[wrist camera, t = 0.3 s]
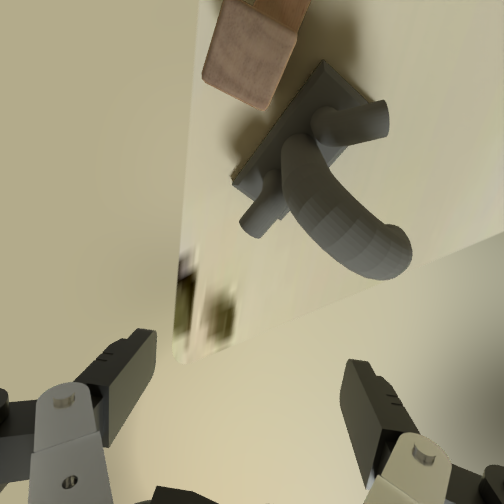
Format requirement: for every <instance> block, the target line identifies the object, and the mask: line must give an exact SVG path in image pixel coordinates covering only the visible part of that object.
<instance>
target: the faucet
mask: <svg viewBox="0 0 504 504" xmlns="http://www.w3.org/2000/svg"><path fill="white" fill-rule="evenodd" d="M388 132H389V112H388V107H387V104H386V102H385V100H380V101H376V102H372V103H368V102H367V101H366V100H365V99H364V98H363V97H362V96H361V95H360V94H359V93H358V92H357V91H356V90H355V89H354V88H352V87H351V86H350V85H349V84H348V83H347V82H346V81H345V80H344V79H343V78H342V77H341V76H340V75H339V74H338V73H337V72H336V71H335V70H334V69H333V68H332V67H331V66H330V65H329V64H328V63H327V62H325V61H324V60H322V61H321V62H320V64H319V65H318V67H317V68H316V69H315V71H314V72H313V73H312V75H311V76H310V77H309V79H308V80H307V82H306V83H305V84H304V86H303V87H302V88H301V90H300V91H299V92H298V94H297V95H296V97H295V98H294V99H293V101H292V102H291V103H290V105H289V106H288V107H287V109H286V110H285V112H284V113H283V114H282V116H281V117H280V118H279V120H278V121H277V122H276V124H275V125H274V127H273V128H272V129H271V131H270V132H269V133H268V135H267V136H266V137H265V139H264V140H263V142H262V143H261V144H260V146H259V147H258V148H257V150H256V151H255V152H254V154H253V155H252V157H251V158H250V159H249V161H248V162H247V163H246V165H245V166H244V167H243V169H242V170H241V172H240V173H239V174H238V176H237V177H236V178H235V180H234V181H233V183H232V185H233V186H234V187H235V188H237V189H238V190H239V191H241V192H242V193H244V194H245V195H246V196H248V197H249V198H250V199H252V200H253V201H254V203H253V204H252V205H251V206H250V208H249V209H248V210H247V211H246V213H245V214H244V215H243V216H242V218H241V219H240V220H239V223H240V225H241V227H242V228H243V230H244V231H245V232H246V233H248V234H249V235H250V236H252V237H254V238H261V237H262V236H263V235H264V233H265V232H266V231H267V230H268V229H269V228H270V227H271V226H272V224H273V223H274V222H275V221H276V220H277V219H279V220H282V219H283V218H284V216H285V215H286V214H287V213H288V212H289V211H291V213H292V214H293V216H294V217H295V219H296V220H297V222H298V223H299V224H300V225H301V226H302V228H303V229H304V230H305V231H306V232H307V234H308V235H309V236H310V237H311V238H312V239H313V240H314V241H315V242H316V243H317V244H318V245H319V246H320V247H321V248H322V249H323V250H324V251H326V252H327V253H328V254H329V255H330V256H331V257H333V258H334V259H335V260H336V261H337V262H339V263H340V264H342V265H343V266H345V267H346V268H348V269H349V270H351V271H353V272H355V273H357V274H359V275H361V276H363V277H365V278H369V279H375V280H390V279H392V278H395V277H397V276H398V275H400V274H401V273H402V272H404V271H405V270H406V269H407V267H408V266H409V265H410V262H411V260H412V247H411V244H410V241H409V239H408V237H407V235H406V234H405V232H404V231H403V230H402V229H401V228H399V227H398V226H395V225H391V224H384V223H382V222H381V221H380V220H379V219H377V218H376V217H375V216H374V215H373V214H372V213H370V212H369V211H368V210H367V209H366V208H365V207H364V206H362V205H361V204H360V203H359V202H358V201H357V200H356V199H355V198H354V197H353V196H352V195H351V194H350V193H349V192H348V191H347V190H346V189H345V188H344V187H343V186H342V185H341V184H340V182H339V181H338V180H337V179H336V178H335V177H334V175H333V174H332V173H331V171H330V169H329V167H330V166H331V165H332V163H333V162H334V161H335V160H336V159H337V158H338V157H339V156H340V155H341V153H342V152H343V151H344V150H345V149H346V148H347V147H348V146H349V145H354V144H358V143H362V142H366V141H371V140H375V139H379V138H383V137H387V135H388Z"/></svg>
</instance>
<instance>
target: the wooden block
mask: <svg viewBox="0 0 504 504" xmlns="http://www.w3.org/2000/svg"><path fill="white" fill-rule="evenodd" d="M310 2H311V0H255V2H254V4H253V6H251V5H250V4H248V3H246V2H244V1H243V0H223V3H222V6H221V10H220V13H219V17H218V20H217V23H216V27H215V30H214V33H213V37H212V40H211V43H210V47H209V50H208V53H207V57H206V60H205V63H204V67H203V70H202V79H203V80H204V82H205V83H207V84H209V85H211V86H213V87H215V88H217V89H219V90H221V91H223V92H225V93H226V94H228V95H230V96H232V97H234V98H236V99H238V100H240V101H242V102H244V103H246V104H248V105H250V106H252V107H254V108H256V109H258V110H261V111H265V110H266V109H267V108H268V107H269V105H270V102H271V100H272V98H273V96H274V93H275V91H276V89H277V86H278V84H279V82H280V79H281V77H282V75H283V72H284V70H285V68H286V65H287V63H288V61H289V58H290V56H291V54H292V52H293V49H294V47H295V45H296V42H297V35H298V34H297V33H298V31H299V28H300V26H301V24H302V21H303V19H304V16H305V14H306V12H307V9H308V7H309V5H310Z"/></svg>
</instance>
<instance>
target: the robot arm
mask: <svg viewBox="0 0 504 504" xmlns="http://www.w3.org/2000/svg"><path fill="white" fill-rule="evenodd" d="M156 342H157V333H156V331H154V330H147V329H140V328H138V329H136V330H135V331H134V332H133V333H132V335H130V337H129V338H128V339H123V338H122V339H120V340H118V341H116V342H114V343H112V344H110V345H109V346H108V347H107V348H106V349H105V350H104V351H103V353H102V354H100V355H99V356H98V357H97V358H96V360H95V361H93V362H92V363H91V364H90V365H89V366H88V367H87V368H86V369H85V371H83V372H82V373H81V374H80V375H79V376H78V377H77V378H76V379H75V381H73V382H68V383H63V384H59V385H57V386H54V387H52V388H50V389H48V390H47V391H45V392H44V393H43V394H42V395H41V396H40V397H39V398H38V400H30V401H18V402H9V399H8V393H7V391H5V390H4V389H1V388H0V492H1V491H2V490H3V489H4V487H5V486H6V485H7V484H8V483H9V482H16V481H22V480H28V479H30V481H29V497H28V504H113V499H112V494H111V489H110V483H109V477H108V472H107V467H106V461H105V456H104V450H103V447H106V448H109V447H110V445H111V444H112V442H113V440H114V439H115V437H116V435H117V434H118V432H119V430H120V429H121V427H122V426H123V424H124V422H125V421H126V419H127V417H128V416H129V414H130V413H131V411H132V409H133V408H134V406H135V404H136V403H137V401H138V400H139V398H140V396H141V395H142V393H143V391H144V390H145V388H146V386H147V385H148V383H149V382H150V380H151V378H152V376H153V373H154V369H155V363H156ZM340 406H341V411H342V414H343V417H344V420H345V424H346V427H347V430H348V433H349V437H350V440H351V443H352V447H353V450H354V453H355V456H356V460H357V463H358V466H359V469H360V473H361V476H362V479H363V482H364V485H365V489H366V490H370V491H369V493H368V495H367V497H366V499H365V501H364V503H363V504H504V467H503V466H499V465H489V466H487V467H486V468H485V470H484V473H483V476H481V475H478V474H476V473H473V472H471V471H468V470H466V469H463V468H461V467H458V466H456V465H454V464H452V463H451V461H450V459H449V457H448V455H447V454H446V453H445V451H444V450H443V449H442V448H441V447H440V446H439V445H437V444H436V443H435V442H433V441H432V440H430V439H429V438H427V437H424V436H422V435H421V434H420V433H419V431H418V429H417V427H416V426H415V424H414V422H413V421H412V419H411V417H410V416H409V414H408V412H407V411H406V409H405V407H403V404H402V402H401V400H400V399H399V398H398V396H397V394H396V392H395V391H394V389H393V387H392V386H391V385H390V384H389V383H388V382H387V381H386V380H385V379H384V378H383V377H381V376H376V375H375V373H374V371H373V369H372V368H371V365H370V364H369V362H367V361H361V360H354V359H349V360H348V361H347V363H346V368H345V372H344V377H343V381H342V386H341V390H340ZM135 504H218V503H216V502H214V501H212V500H210V499H208V498H205V497H203V496H201V495H199V494H197V493H195V492H193V491H186V490H180V489H174V488H167V487H161V486H157V487H156V489H155V492H154V494H153V497H152V500H147V501H143V502H139V503H135Z"/></svg>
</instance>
